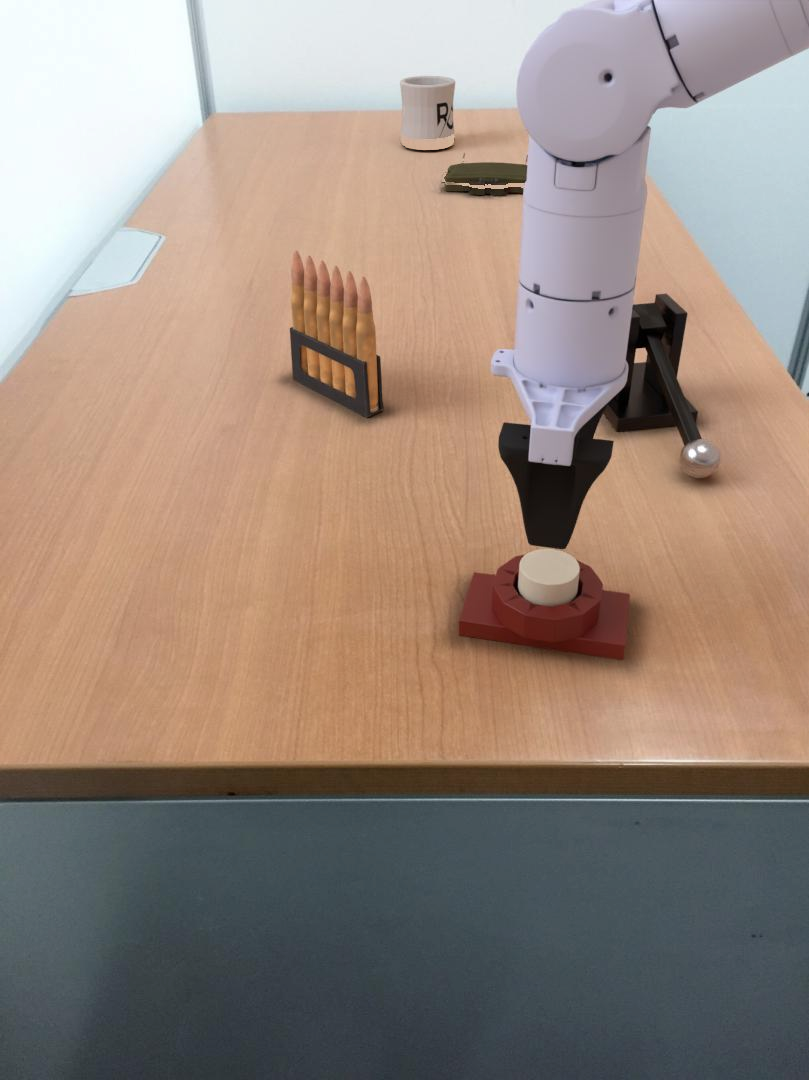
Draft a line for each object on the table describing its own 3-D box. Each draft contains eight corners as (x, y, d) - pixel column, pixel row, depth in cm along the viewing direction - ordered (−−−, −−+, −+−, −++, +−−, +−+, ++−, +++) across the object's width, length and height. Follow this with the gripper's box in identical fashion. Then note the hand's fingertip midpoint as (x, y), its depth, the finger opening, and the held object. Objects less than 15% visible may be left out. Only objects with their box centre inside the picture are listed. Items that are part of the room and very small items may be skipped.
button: (580, 575, 59) (582, 552, 58) (574, 611, 57) (576, 588, 56) (522, 567, 60) (524, 544, 59) (513, 602, 57) (515, 579, 56)
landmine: (438, 175, 135) (450, 149, 147) (438, 194, 136) (450, 167, 148) (539, 178, 133) (543, 151, 145) (538, 197, 134) (542, 169, 146)
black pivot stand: (696, 424, 80) (714, 325, 75) (616, 432, 79) (629, 332, 74) (651, 373, 88) (665, 280, 83) (578, 379, 87) (587, 286, 82)
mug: (437, 155, 154) (438, 87, 148) (389, 148, 158) (388, 82, 152) (473, 139, 163) (475, 74, 157) (427, 133, 166) (427, 70, 161)
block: (628, 600, 61) (634, 563, 60) (622, 668, 56) (628, 630, 55) (475, 579, 63) (476, 542, 62) (455, 643, 58) (456, 605, 57)
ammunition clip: (384, 411, 83) (380, 276, 76) (368, 418, 82) (362, 282, 75) (308, 372, 89) (297, 245, 82) (292, 378, 88) (280, 250, 81)
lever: (718, 484, 73) (731, 460, 71) (681, 488, 73) (693, 464, 70) (652, 325, 82) (662, 299, 79) (619, 328, 82) (628, 301, 79)
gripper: (517, 229, 54) (505, 441, 62) (469, 331, 42) (462, 575, 50) (645, 237, 52) (617, 453, 60) (631, 345, 41) (598, 594, 49)
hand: (554, 509), depth 55 cm, fingers open, 6 cm apart
